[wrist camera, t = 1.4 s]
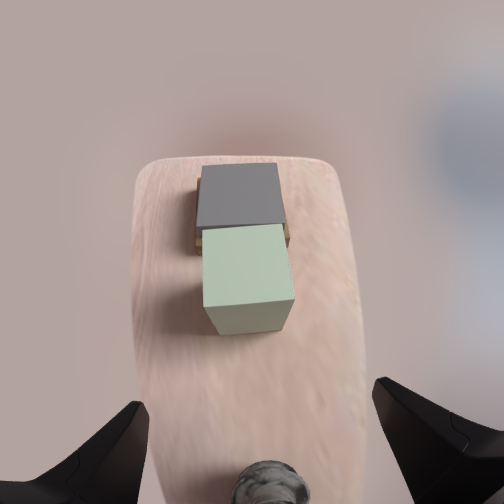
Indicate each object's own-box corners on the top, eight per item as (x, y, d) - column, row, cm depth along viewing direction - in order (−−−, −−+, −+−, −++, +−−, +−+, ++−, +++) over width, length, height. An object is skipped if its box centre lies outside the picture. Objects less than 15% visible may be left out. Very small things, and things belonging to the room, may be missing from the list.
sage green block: (281, 330, 24) (295, 299, 16) (220, 335, 23) (203, 307, 16) (274, 274, 26) (281, 223, 19) (217, 279, 26) (202, 230, 19)
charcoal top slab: (283, 234, 26) (285, 222, 24) (199, 238, 26) (196, 226, 24) (275, 175, 30) (276, 162, 28) (204, 178, 30) (202, 165, 28)
